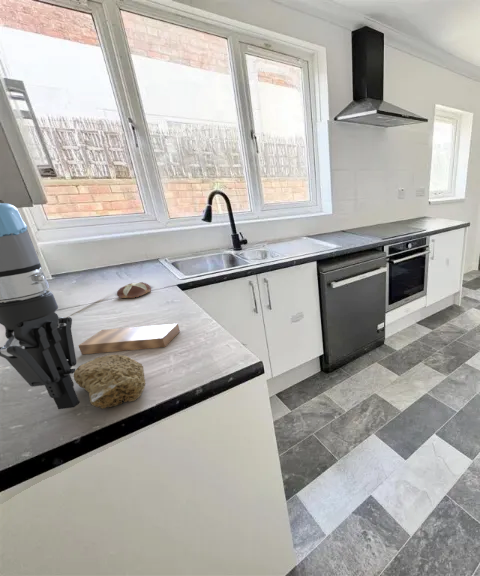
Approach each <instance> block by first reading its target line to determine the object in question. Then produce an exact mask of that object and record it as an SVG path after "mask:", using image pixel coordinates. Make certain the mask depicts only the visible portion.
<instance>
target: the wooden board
mask: <svg viewBox="0 0 480 576" xmlns="http://www.w3.org/2000/svg"><path fill="white" fill-rule="evenodd" d="M180 332H181V331H180V326H179V323H168V324H156V325H155V324H154V325H144V326H143V325H142V326H133V327H132V326H129V327H119V328H118V327H117V328H106V329H105V328H104V329H101V330H99V331H98V332H96V333H95V334H93V335H91V336H90V337H89V338H87V339H86V340H84V341H83V342H81V343H80V344H78V345H77V346H78V348H79V351H80V354H81V355H92V354H102V353H103V354H104V353H113V352H125V351H126V352H127V351H135V350H147V349H159V348H166V347H167V346H168V345H169V344H170V343H171V342H172V341H173V340H174V339H175V337H177V335H179V334H180Z"/></svg>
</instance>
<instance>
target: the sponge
mask: <svg viewBox="0 0 480 576" xmlns="http://www.w3.org/2000/svg"><path fill="white" fill-rule="evenodd" d="M144 369H145V368H144V365H143V364H142V363H141V362H138V361H136V360H135V359H133V358H131V357H130V356H127V355H125V354H108V355H102V356H99V357H96V358H94V359H93V360H89V361H87V362H85V363H83V364H81V365H79V366H77V368H75V372H74V373H73V379H74V382H75V383H76V384H77V385H78V386H79V387H80V388H82V389H84V391H86V392H87V393H88V396H89V397H88V398H89V403H90V405H91V406H93V407H95V408H100V409H102V410H103V409H106V408H111V407H115V406H118V405H122V404H123V402H124V403H130V402H135V401H136V400H137V399H139V398H140V397H141V396H142V393H143V392H144V390H145V387H146V379H145V370H144Z"/></svg>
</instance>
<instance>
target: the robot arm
mask: <svg viewBox="0 0 480 576" xmlns="http://www.w3.org/2000/svg"><path fill="white" fill-rule="evenodd" d="M48 289H50V284H49V282H48V280H47V277H46V275H45V272H44V270H43V268H42V264H41V262H40V259H39V256H38V254H37V250H36V249H35V246H34V243H33V241H32V238H31V235H30V233H29V230H28V225H27V224H26V222H25V221H24V220H23V218H22V215H21V213H20V212H19V208H17V207H16V206H15V205H13V204H11V203H8V202H7V203H6V202H0V325H2V326H3V327H4V328H5V332H4V333H5V337H6V341H5V343H4V344H3V346H0V357H2V358H4V359H5V360H6V361H7V362H8V363H9V364H10V365H11V366H12V368H13V369H15V371H16V372H17V373H18V374H19V375H20V376H21V378H23V380H24V381H25V382H26V383H27V384H28V385H29V386H30V387H41V386H44V387H45V389H46V392H47V393H48V395H49V398H51V399H53V401H54V403H55V405H56V407H57V409H58V410H64V409H72V408H73V409H74V408H75V407H76V406H78V405H79V404H80V403H81V402H80V399H79V397H78V395H77V393H76V389H75V388H74V386H75V385H74V384H75V382H74V381H73V379H72V376H71V375H72V374H74V372H75V370H76V368H72V367H75V366H76V365H77V356H76V350H75V344H74V339H73V332H72V324H73V318H72V317H70V316H69V317H68V316H67V317H61V316H59V314H58V313H57V311H58V309H59V306H58V303H57V300H56V298H55V296H54V293H53V292H52V291H50V290H48Z"/></svg>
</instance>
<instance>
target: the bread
mask: <svg viewBox="0 0 480 576" xmlns="http://www.w3.org/2000/svg"><path fill="white" fill-rule="evenodd" d="M151 291H152V287H151V285H150V284H148V283H146V282H143V281H141V282H131V283H128V284H126V285H124V286H122V287H120V288H118V289H117V291H116V296H117V297H118V298H119V299H136V298H139V296H140V297H142V296H144V295H146V294H148V293H150V292H151ZM135 297H136V298H135Z"/></svg>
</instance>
